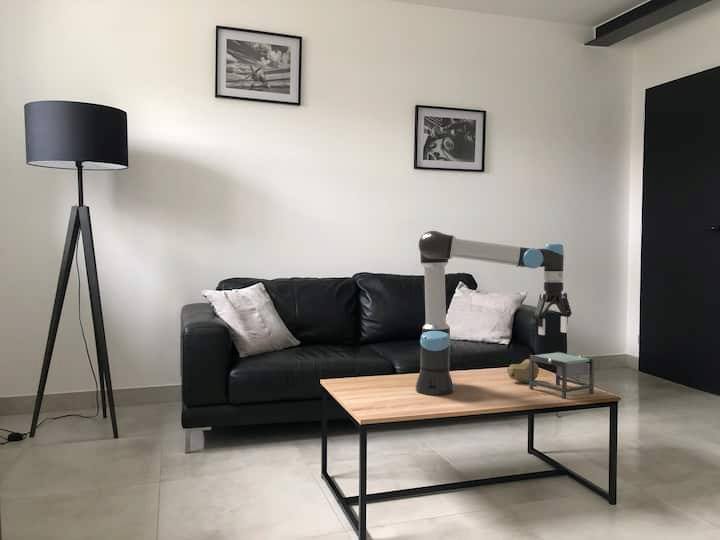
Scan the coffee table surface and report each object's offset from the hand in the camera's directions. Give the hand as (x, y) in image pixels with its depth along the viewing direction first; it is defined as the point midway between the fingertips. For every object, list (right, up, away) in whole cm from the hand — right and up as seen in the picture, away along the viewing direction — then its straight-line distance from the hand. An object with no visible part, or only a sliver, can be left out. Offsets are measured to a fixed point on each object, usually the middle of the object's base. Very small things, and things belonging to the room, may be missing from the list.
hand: (552, 333), depth 243 cm
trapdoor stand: (+2, -23, -3) cm, 23 cm away
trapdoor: (+2, -15, -3) cm, 16 cm away
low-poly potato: (-9, -23, +13) cm, 28 cm away
